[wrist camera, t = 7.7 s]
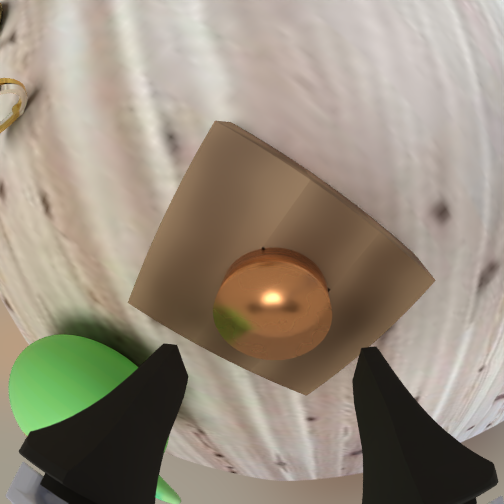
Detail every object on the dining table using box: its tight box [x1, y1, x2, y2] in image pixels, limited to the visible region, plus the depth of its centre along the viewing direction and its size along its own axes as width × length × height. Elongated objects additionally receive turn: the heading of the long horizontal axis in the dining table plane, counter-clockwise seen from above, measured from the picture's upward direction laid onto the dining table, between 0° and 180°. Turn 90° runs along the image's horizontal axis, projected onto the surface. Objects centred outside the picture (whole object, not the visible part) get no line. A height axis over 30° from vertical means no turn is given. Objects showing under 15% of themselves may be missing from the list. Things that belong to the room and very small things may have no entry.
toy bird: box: [9, 334, 181, 504], centre depth 19 cm, size 18×17×15 cm
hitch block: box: [128, 121, 435, 395], centre depth 16 cm, size 14×12×4 cm
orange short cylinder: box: [213, 248, 332, 360], centre depth 15 cm, size 6×6×5 cm
